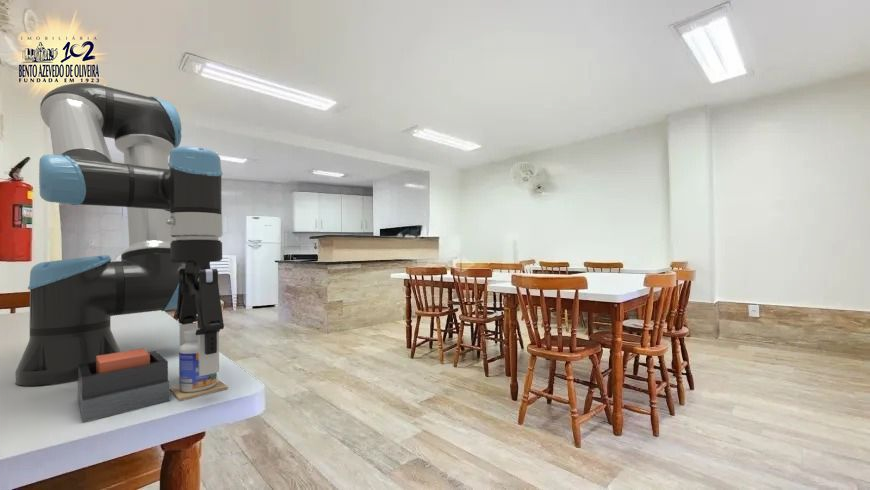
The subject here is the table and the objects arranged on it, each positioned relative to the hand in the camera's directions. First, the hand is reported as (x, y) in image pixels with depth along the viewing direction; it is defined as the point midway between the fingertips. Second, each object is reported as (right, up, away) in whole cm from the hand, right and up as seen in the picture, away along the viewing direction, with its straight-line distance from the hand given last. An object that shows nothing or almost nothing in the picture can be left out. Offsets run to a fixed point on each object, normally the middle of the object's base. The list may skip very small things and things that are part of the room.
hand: (198, 366), depth 64 cm
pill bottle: (0, -4, 0) cm, 4 cm away
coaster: (0, -4, 0) cm, 4 cm away
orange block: (-9, -2, -4) cm, 10 cm away
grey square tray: (-9, -4, -4) cm, 11 cm away
